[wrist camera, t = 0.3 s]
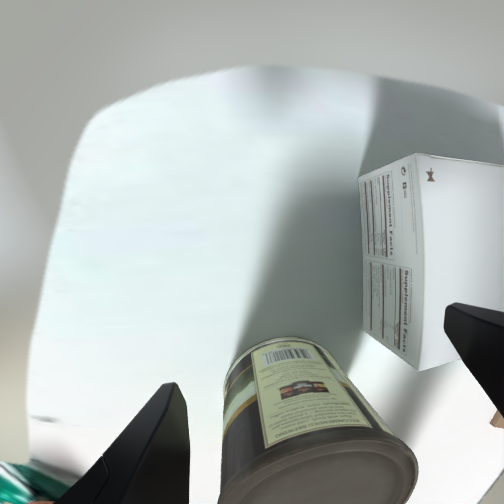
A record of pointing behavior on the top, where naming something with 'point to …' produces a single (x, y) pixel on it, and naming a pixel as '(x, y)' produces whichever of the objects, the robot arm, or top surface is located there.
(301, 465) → the coffee can
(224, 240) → the top surface
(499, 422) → the pump canister
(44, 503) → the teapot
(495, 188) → the supplement box
